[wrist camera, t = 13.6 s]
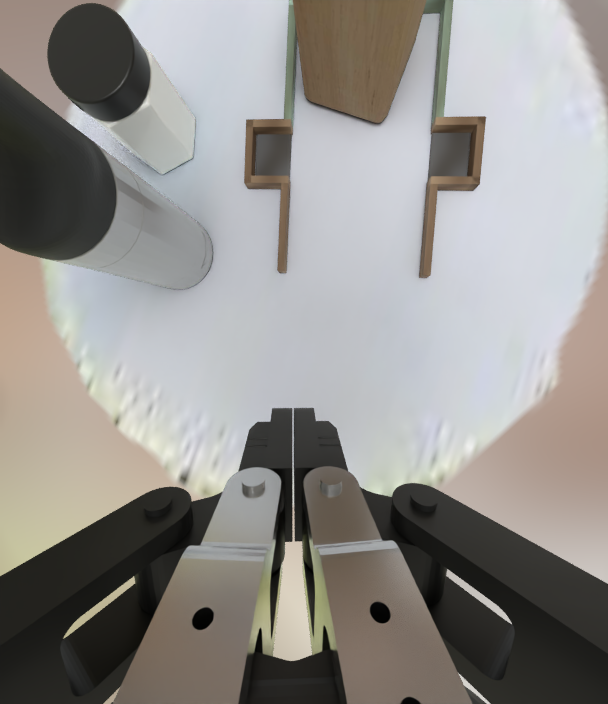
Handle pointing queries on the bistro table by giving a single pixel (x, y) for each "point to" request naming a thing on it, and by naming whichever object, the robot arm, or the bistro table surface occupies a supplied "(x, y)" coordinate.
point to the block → (355, 51)
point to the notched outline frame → (444, 154)
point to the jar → (120, 86)
